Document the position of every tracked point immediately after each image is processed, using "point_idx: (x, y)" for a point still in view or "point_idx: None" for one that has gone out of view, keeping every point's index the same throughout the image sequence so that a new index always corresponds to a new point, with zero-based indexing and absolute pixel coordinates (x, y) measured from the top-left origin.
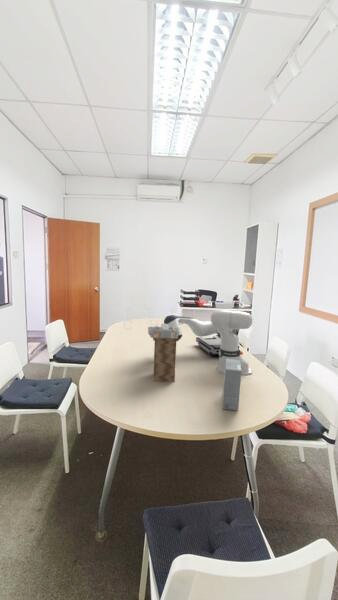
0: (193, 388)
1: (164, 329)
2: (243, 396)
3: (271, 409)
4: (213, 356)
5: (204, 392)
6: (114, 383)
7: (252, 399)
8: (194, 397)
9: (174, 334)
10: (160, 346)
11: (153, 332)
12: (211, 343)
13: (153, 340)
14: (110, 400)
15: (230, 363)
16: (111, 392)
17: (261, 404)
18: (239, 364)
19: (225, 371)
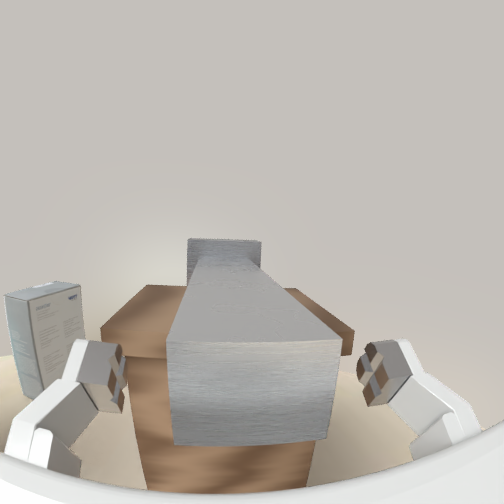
0: (112, 444)
1: (234, 240)
2: (9, 391)
3: (6, 360)
4: None
5: (89, 423)
6: (404, 447)
7: (4, 381)
8: (131, 411)
9: (145, 307)
10: None
11: (342, 323)
12: None
13: None
14: (355, 395)
15: (44, 290)
16: (376, 415)
17: (6, 369)
18: (29, 288)
19: (80, 290)
